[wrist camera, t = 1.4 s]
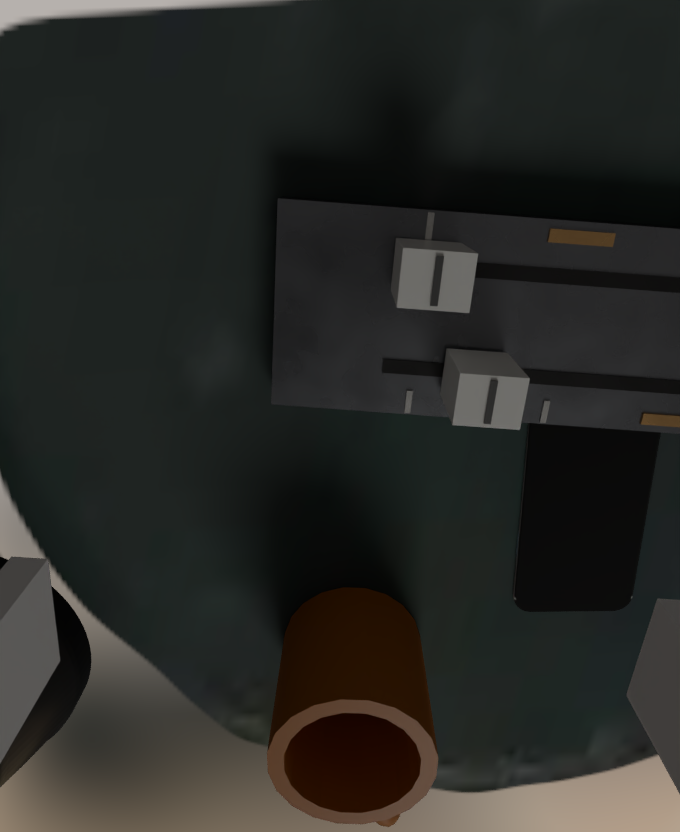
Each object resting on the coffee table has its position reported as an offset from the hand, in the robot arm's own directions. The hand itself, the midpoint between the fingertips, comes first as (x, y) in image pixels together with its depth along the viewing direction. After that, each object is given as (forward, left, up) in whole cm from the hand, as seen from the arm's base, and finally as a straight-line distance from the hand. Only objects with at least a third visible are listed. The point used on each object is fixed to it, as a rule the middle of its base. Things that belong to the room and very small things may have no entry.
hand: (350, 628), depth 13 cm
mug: (+2, -20, -21) cm, 29 cm away
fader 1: (+3, +5, -18) cm, 19 cm away
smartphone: (+14, -8, -21) cm, 27 cm away
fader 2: (+6, 0, -18) cm, 19 cm away
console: (+10, +3, -21) cm, 23 cm away
